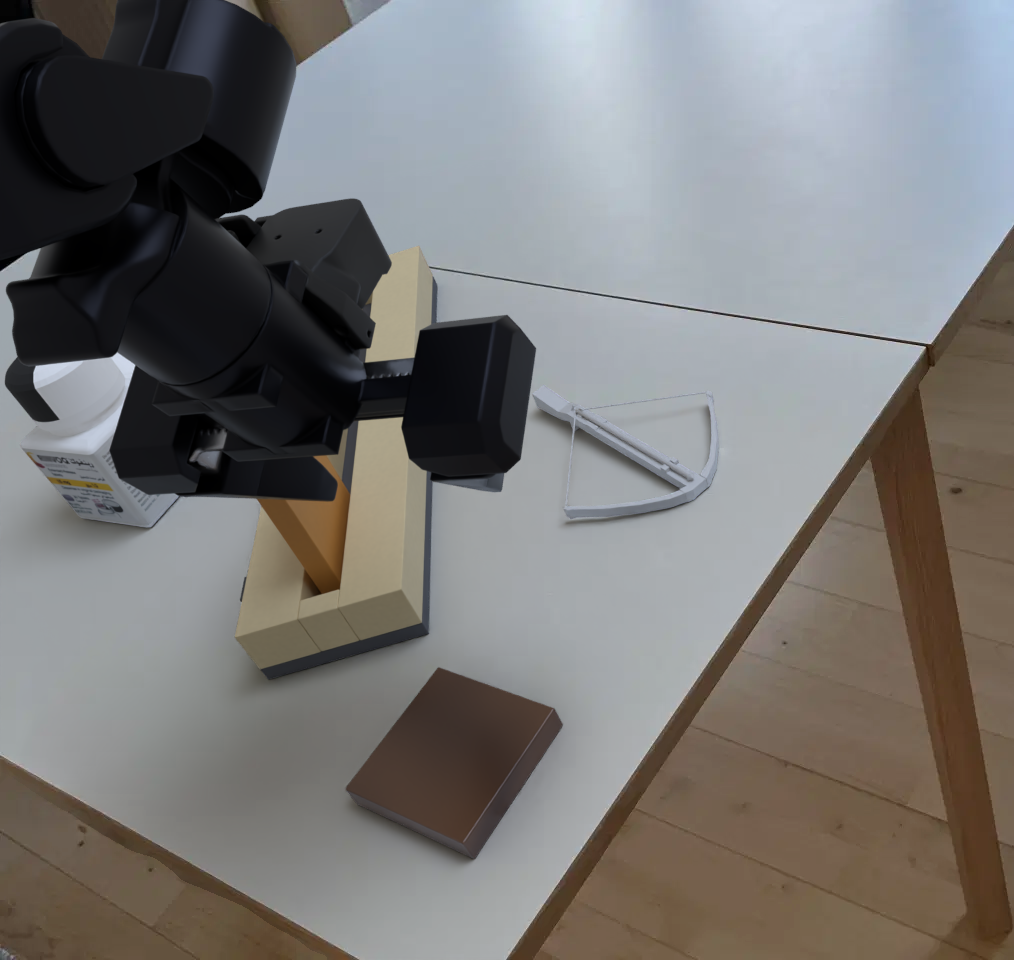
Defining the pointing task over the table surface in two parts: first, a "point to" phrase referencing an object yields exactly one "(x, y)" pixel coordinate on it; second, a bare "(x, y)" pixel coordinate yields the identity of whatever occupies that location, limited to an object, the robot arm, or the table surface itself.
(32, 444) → the container
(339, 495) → the toast
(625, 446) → the crossbow
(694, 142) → the table surface
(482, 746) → the bread board
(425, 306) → the toaster
